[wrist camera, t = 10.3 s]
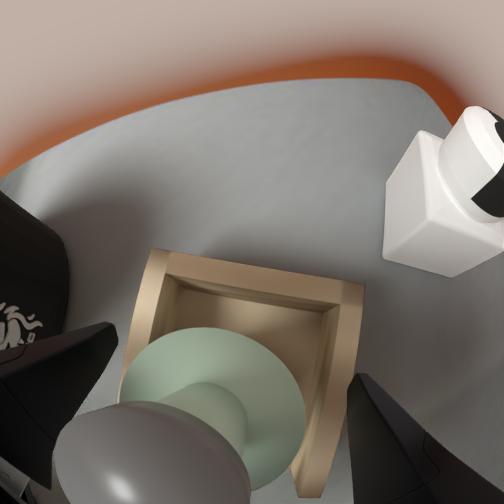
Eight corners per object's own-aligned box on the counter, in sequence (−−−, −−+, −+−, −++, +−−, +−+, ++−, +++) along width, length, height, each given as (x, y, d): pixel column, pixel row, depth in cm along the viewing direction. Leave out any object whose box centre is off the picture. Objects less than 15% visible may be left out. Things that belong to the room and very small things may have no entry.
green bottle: (293, 398, 15) (400, 551, 1) (216, 428, 15) (105, 590, 1) (259, 324, 17) (252, 225, 3) (183, 355, 16) (-27, 352, 2)
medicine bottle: (449, 205, 20) (525, 125, 9) (451, 279, 18) (559, 219, 7) (384, 182, 21) (447, 74, 10) (380, 260, 19) (481, 166, 8)
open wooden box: (310, 465, 14) (325, 498, 9) (141, 429, 15) (107, 449, 10) (343, 300, 18) (370, 284, 13) (173, 271, 19) (146, 246, 14)
